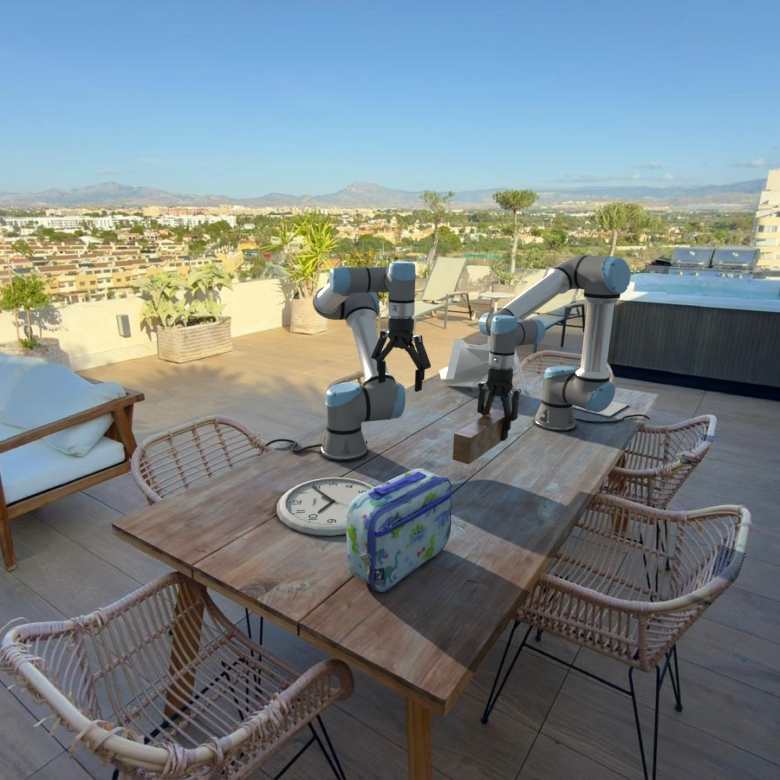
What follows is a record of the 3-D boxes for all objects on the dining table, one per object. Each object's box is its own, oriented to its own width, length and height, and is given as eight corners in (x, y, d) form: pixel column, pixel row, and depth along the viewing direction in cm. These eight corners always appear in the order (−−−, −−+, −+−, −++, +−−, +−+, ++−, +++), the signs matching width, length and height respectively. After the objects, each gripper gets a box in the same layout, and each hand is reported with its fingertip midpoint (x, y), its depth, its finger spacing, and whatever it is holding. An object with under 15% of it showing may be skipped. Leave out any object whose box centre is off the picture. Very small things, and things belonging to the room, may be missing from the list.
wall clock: (392, 527, 129) (268, 531, 127) (391, 533, 130) (269, 537, 127) (383, 473, 158) (282, 475, 155) (383, 478, 158) (282, 480, 156)
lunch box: (374, 604, 105) (375, 512, 99) (340, 579, 113) (339, 492, 106) (455, 552, 123) (460, 471, 117) (421, 533, 130) (424, 456, 124)
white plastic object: (461, 429, 252) (437, 405, 227) (444, 352, 274) (420, 323, 250) (535, 404, 240) (518, 377, 215) (510, 326, 262) (492, 293, 237)
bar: (492, 433, 171) (494, 409, 169) (507, 437, 168) (509, 413, 166) (452, 459, 151) (454, 433, 149) (468, 464, 148) (470, 437, 146)
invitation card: (608, 416, 214) (573, 407, 224) (608, 416, 214) (573, 408, 224) (628, 404, 229) (594, 396, 238) (628, 405, 229) (594, 397, 238)
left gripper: (360, 313, 156) (360, 381, 162) (430, 323, 142) (427, 397, 148) (375, 310, 162) (375, 376, 168) (444, 319, 148) (441, 391, 154)
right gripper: (468, 364, 162) (464, 433, 169) (524, 374, 152) (517, 448, 159) (479, 359, 168) (475, 427, 175) (534, 369, 157) (527, 440, 164)
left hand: (399, 386), depth 158 cm, fingers open, 13 cm apart
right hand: (495, 437), depth 167 cm, fingers closed on bar, 5 cm apart
